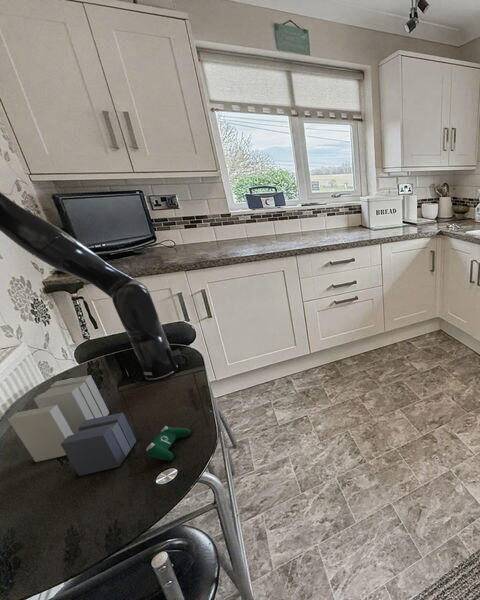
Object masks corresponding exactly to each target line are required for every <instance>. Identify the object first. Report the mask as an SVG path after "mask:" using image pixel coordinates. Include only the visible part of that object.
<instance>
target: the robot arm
mask: <svg viewBox="0 0 480 600" xmlns="http://www.w3.org/2000/svg"><path fill="white" fill-rule="evenodd" d="M0 232H2V233H3V234H4V235H5V236H6V237H7V238H9V239H10V241H13V243H15V244H16V245H17V246H19V247H20V248H22V249H23V250H24V251H26V252H28V253H29V254H30V255H32V256H34V257H35V258H37V259H39V260H40V261H42V262H44V263H45V264H47V265H49V266H51V267H52V268H54V269H56V270H59V271H61V272H62V273H65V274H67V275H70V276H72V277H75V278H78V279H79V280H82V281H84V282H87V283H89V284H90V285H92V286H94V287H95V288H97V289H99V290H100V291H101V292H103V293H104V294H106V295H107V296H108V297H109V298H111V300H112V304H113V306H114V308H115V311H116V313H117V315H118V318H119V320H120V322H121V325H122V327H123V328H124V330H125V333H126V335H127V337H128V340H129V342H130V344H131V346H132V349H133V352H134V353H135V356H136V358H137V361H138V363H139V365H140V368H141V371H142V373H143V375H144V378H145V379H146V381H149V382H152V381H159V380H162V379H165V378H168V377H170V376H172V375H174V374H175V373H177V372H179V366H178V363H179V362H182V361H183V360H182V358H184V359H185V365H188V364H189V363H190V358H189V356H188V355H186V354H184V353H181V351H180V349H179V348H178V349H174V350H172V346H171V344H170V342H169V341H168V339H167V338H168V337H167V335H166V333H165V330H164V328H163V325H162V322H161V320H160V316H159V314H158V312H157V309H156V306H155V303H154V301H153V298H152V296H151V293H150V291H149V289H148V288H147V286H146V285H145V284H144V283H142V282H141V281H139V280H137V279H135V278H133V277H131V276H129V275H127V274H126V273H124V272H122V271H120V270H119V269H117V268H115V267H113V266H112V265H110V264H109V263H107V262H106V261H105V260H104V259H102V258H101V257H100V256H99V255H98V254H96V253H95V252H94V251H93V250H91V249H90V248H89V247H87V246H86V245H85V244H83V243H82V242H80V241H79V240H78V239H76V238H74V237H73V236H71V235H70V234H69V233H67V232H65V231H64V230H63V229H61V228H59V227H57V226H56V225H54V224H53V223H51V222H50V221H47V220H46V219H45V218H42V217H40V216H39V215H36V214H35V213H33V212H31V211H30V210H27V209H25V208H24V207H22V206H20V205H19V204H18V203H16V202H14V201H13V200H12V199H10V198H9V197H8V196H6V195H5V194H3V193H2V192H1V191H0Z"/></svg>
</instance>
